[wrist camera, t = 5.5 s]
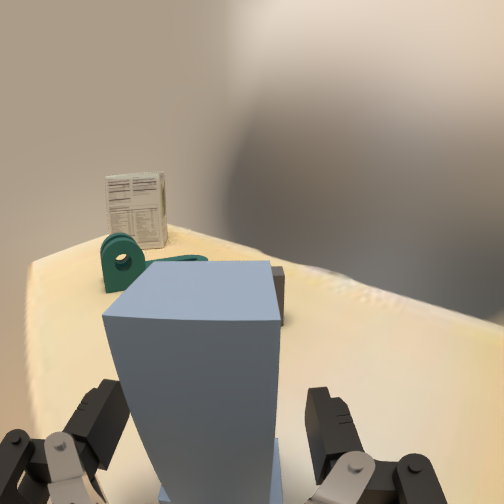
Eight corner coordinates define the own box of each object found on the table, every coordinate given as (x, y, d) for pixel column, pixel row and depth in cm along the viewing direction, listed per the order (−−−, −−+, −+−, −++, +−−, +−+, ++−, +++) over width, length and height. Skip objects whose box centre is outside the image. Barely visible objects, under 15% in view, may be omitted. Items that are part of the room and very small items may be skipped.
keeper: (276, 454, 16) (286, 260, 12) (281, 518, 11) (308, 319, 7) (179, 451, 16) (139, 261, 12) (165, 513, 11) (81, 313, 7)
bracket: (106, 294, 41) (98, 243, 39) (104, 280, 46) (98, 235, 44) (214, 275, 49) (212, 228, 47) (200, 264, 55) (198, 222, 53)
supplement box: (164, 248, 66) (160, 170, 61) (110, 252, 64) (103, 176, 59) (168, 236, 79) (165, 171, 74) (122, 239, 76) (117, 175, 71)
